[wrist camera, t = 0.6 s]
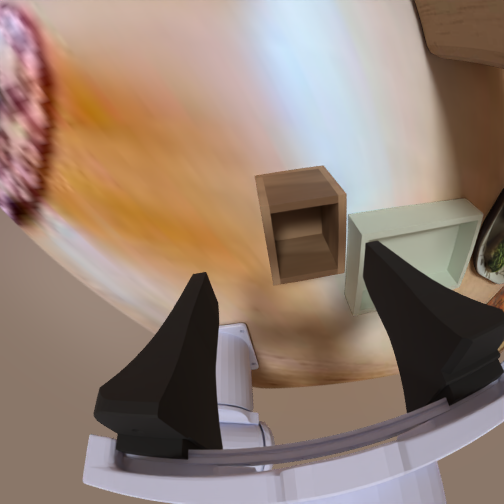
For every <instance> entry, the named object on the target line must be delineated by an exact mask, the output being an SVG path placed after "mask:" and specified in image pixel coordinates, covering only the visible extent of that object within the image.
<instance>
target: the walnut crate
mask: <svg viewBox="0 0 504 504" xmlns="http://www.w3.org/2000/svg"><path fill="white" fill-rule="evenodd" d="M255 180H256V186H257V192H258V198H259V204H260V210H261V216H262V221H263V227H264V233H265V238H266V244H267V250H268V256H269V261H270V267H271V273H272V279H273V285H279V284H285V283H291V282H297V281H303V280H308V279H314V278H319V277H325V276H330V275H335V274H341V273H344V272H345V252H346V193H345V192H344V190H343V189H342V188H341V187H340V185H339V184H338V183H337V182H336V180H335V179H334V178H333V177H332V175H331V174H330V173H329V172H328V171H327V169H326V168H325V167H324V166H316V167H309V168H301V169H294V170H288V171H281V172H275V173H269V174H263V175H257V176H255Z"/></svg>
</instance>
